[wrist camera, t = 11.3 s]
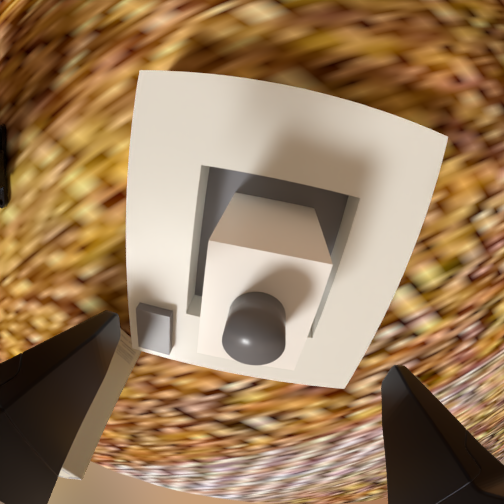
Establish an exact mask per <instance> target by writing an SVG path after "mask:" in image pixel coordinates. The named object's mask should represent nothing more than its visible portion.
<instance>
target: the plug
mask: <svg viewBox="0 0 504 504" xmlns="http://www.w3.org/2000/svg"><path fill="white" fill-rule="evenodd" d="M332 266H333V264H332V260H331V257H330V254H329V251H328V248H327V245H326V242H325V239H324V236H323V232H322V229H321V227H320V224H319V221H318V218H317V215H316V212H315V209H314V208H310V207H306V206H301V205H296V204H292V203H287V202H282V201H277V200H272V199H267V198H262V197H257V196H252V195H246V194H241V193H236V192H235V194H234V195H233V197H232V199H231V201H230V202H229V204H228V206H227V208H226V210H225V211H224V213H223V215H222V217H221V219H220V220H219V222H218V224H217V226H216V228H215V229H214V231H213V233H212V235H211V237H210V239H209V241H208V249H207V258H206V266H205V275H204V285H203V294H202V304H201V314H200V324H199V336H198V347H197V353H201V354H206V355H211V356H215V357H220V358H225V359H230V360H235V361H238V362H240V363H243V364H247V365H263V366H269V367H275V368H281V369H288V370H294V369H295V367H296V364H297V362H298V359H299V357H300V354H301V352H302V349H303V347H304V344H305V342H306V339H307V336H308V334H309V331H310V329H311V326H312V323H313V320H314V318H315V315H316V312H317V309H318V307H319V304H320V301H321V298H322V295H323V292H324V290H325V287H326V284H327V281H328V278H329V275H330V272H331V269H332Z"/></svg>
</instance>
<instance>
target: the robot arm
mask: <svg viewBox="0 0 504 504" xmlns="http://www.w3.org/2000/svg"><path fill="white" fill-rule="evenodd" d="M5 143H6V128H5V125H4V124H0V208H4V207H6V206H7V204H8V197H7V183H6V155H5ZM120 336H121V330H120V321H119V316H118V314H117V313H114V312H111V311H104V312H102V313H100V314H98V315H96V316H94V317H92V318H90V319H88V320H86V321H84V322H82V323H80V324H78V325H76V326H74V327H72V328H70V329H68V330H66V331H64V332H62V333H60V334H58V335H56V336H54V337H52V338H50V339H48V340H46V341H44V342H42V343H40V344H38V345H36V346H34V347H32V348H30V349H28V350H27V351H25V352H23V354H22V353H20V354H19V355H17V356H15V357H13V358H11V359H9V360H6V361H4V362H2V363H0V504H47V503H48V501H49V498H50V496H51V493H52V490H53V488H54V486H55V483H56V481H57V478H58V475H59V473H60V471H61V469H62V466H63V464H64V462H65V459H66V457H67V455H68V453H69V450H70V448H71V446H72V444H73V442H74V439H75V437H76V435H77V433H78V431H79V429H80V427H81V424H82V422H83V420H84V418H85V416H86V414H87V412H88V410H89V408H90V406H91V404H92V402H93V400H94V398H95V396H96V394H97V392H98V390H99V388H100V386H101V384H102V382H103V380H104V378H105V376H106V373H107V371H108V368H109V366H110V363H111V360H112V358H113V355H114V353H115V350H116V348H117V345H118V343H119V340H120ZM381 393H382V428H383V438H384V448H385V459H386V472H387V488H388V504H504V465H503V464H502V463H501V462H500V461H498V460H497V459H496V458H495V457H494V456H493V455H492V454H491V453H490V452H489V451H487V450H486V449H485V448H484V447H483V446H482V445H481V444H480V443H479V442H478V441H477V440H476V439H475V438H474V437H473V436H472V435H471V434H470V433H469V431H468V430H466V428H465V427H464V426H463V425H462V424H461V423H460V422H459V421H458V420H457V419H456V418H455V417H454V416H453V415H452V414H451V413H450V412H449V411H448V409H447V408H446V407H445V406H444V405H443V404H442V403H441V402H440V401H439V400H438V399H437V398H436V397H435V396H434V395H433V394H432V393H431V392H430V391H429V390H428V389H427V388H426V387H425V386H424V385H423V384H422V383H421V382H420V381H419V380H418V379H417V378H416V377H415V376H414V375H413V374H412V373H411V372H410V371H409V370H408V369H407V368H406V367H405V366H402V365H394V366H393V367H392V368H391V369H390V371H389V372H388V374H387V375H386V377H385V378H384V380H383V382H382V386H381Z"/></svg>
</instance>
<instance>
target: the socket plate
mask: <svg viewBox="0 0 504 504" xmlns="http://www.w3.org/2000/svg"><path fill="white" fill-rule="evenodd" d="M447 140H448V137H447V136H445V135H443V134H441V133H438V132H436V131H434V130H431V129H429V128H427V127H424V126H422V125H419V124H417V123H414V122H412V121H409V120H406V119H404V118H401V117H398V116H396V115H393V114H390V113H387V112H384V111H381V110H378V109H375V108H372V107H369V106H366V105H363V104H360V103H356V102H353V101H350V100H346V99H343V98H339V97H335V96H331V95H328V94H324V93H320V92H316V91H311V90H307V89H303V88H298V87H293V86H288V85H283V84H278V83H273V82H267V81H261V80H255V79H249V78H242V77H234V76H226V75H217V74H207V73H196V72H181V71H156V70H140V72H139V78H138V84H137V90H136V97H135V104H134V112H133V120H132V129H131V139H130V150H129V163H128V178H127V201H126V268H127V291H128V307H129V320H130V331H131V341H132V348H133V349H137V350H140V351H143V352H147V353H150V354H154V355H158V356H161V357H165V358H169V359H173V360H177V361H181V362H185V363H189V364H193V365H197V366H202V367H206V368H211V369H215V370H220V371H225V372H230V373H235V374H240V375H245V376H251V377H257V378H263V379H269V380H275V381H282V382H289V383H296V384H304V385H312V386H321V387H331V388H342V389H344V388H345V387H346V385H347V384H348V382H349V380H350V378H351V377H352V375H353V373H354V372H355V370H356V368H357V366H358V365H359V363H360V361H361V359H362V358H363V356H364V354H365V352H366V350H367V348H368V347H369V345H370V343H371V341H372V339H373V337H374V335H375V333H376V331H377V329H378V327H379V325H380V323H381V321H382V319H383V317H384V315H385V313H386V311H387V309H388V307H389V305H390V303H391V301H392V298H393V296H394V294H395V292H396V290H397V287H398V285H399V283H400V281H401V278H402V276H403V274H404V271H405V269H406V266H407V264H408V262H409V259H410V257H411V254H412V252H413V249H414V246H415V244H416V241H417V239H418V236H419V233H420V230H421V228H422V225H423V222H424V219H425V216H426V213H427V210H428V207H429V204H430V201H431V198H432V195H433V192H434V188H435V185H436V182H437V178H438V175H439V171H440V167H441V164H442V160H443V156H444V152H445V148H446V144H447ZM235 192H236V193H241V194H246V195H252V196H257V197H262V198H267V199H272V200H277V201H282V202H287V203H292V204H296V205H301V206H306V207H310V208H314V209H315V212H316V215H317V218H318V221H319V224H320V227H321V229H322V232H323V236H324V239H325V242H326V245H327V248H328V251H329V254H330V257H331V260H332V264H333V266H332V269H331V272H330V275H329V278H328V281H327V284H326V287H325V290H324V292H323V295H322V298H321V301H320V304H319V307H318V309H317V312H316V315H315V318H314V320H313V323H312V326H311V329H310V331H309V334H308V336H307V339H306V342H305V344H304V347H303V349H302V352H301V354H300V357H299V359H298V362H297V364H296V367H295V369H294V370H288V369H281V368H275V367H269V366H263V365H247V364H243V363H240V362H238V361H235V360H230V359H225V358H220V357H215V356H211V355H206V354H201V353H197V347H198V336H199V324H200V314H201V304H202V294H203V285H204V275H205V266H206V258H207V249H208V241H209V239H210V237H211V235H212V233H213V231H214V229H215V228H216V226H217V224H218V222H219V220H220V219H221V217H222V215H223V213H224V211H225V210H226V208H227V206H228V204H229V202H230V201H231V199H232V197H233V195H234V194H235Z"/></svg>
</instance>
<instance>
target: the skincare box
mask: <svg viewBox="0 0 504 504" xmlns="http://www.w3.org/2000/svg"><path fill="white" fill-rule="evenodd" d="M120 330H121V336H120V340H119V343H118V345H117V348H116V350H115V353H114V355H113V358H112V360H111V363H110V366H109V368H108V371H107V373H106V376H105V378H104V380H103V382H102V384H101V386H100V388H99V390H98V392H97V394H96V396H95V398H94V400H93V402H92V404H91V406H90V408H89V410H88V412H87V414H86V416H85V418H84V420H83V422H82V424H81V427H80V429H79V431H78V433H77V435H76V437H75V439H74V442H73V444H72V446H71V448H70V450H69V453H68V455H67V457H66V459H65V462H64V464H63V466H62V469H61V471H60V473H59V475H58V477H64V478H71V479H80V480H82V479H83V477H84V474H85V472H86V470H87V467H88V465H89V463H90V460H91V458H92V455H93V453H94V451H95V448H96V446H97V444H98V442H99V439H100V437H101V435H102V433H103V431H104V428H105V426H106V424H107V422H108V420H109V417H110V415H111V413H112V411H113V409H114V407H115V405H116V402H117V400H118V398H119V396H120V394H121V392H122V390H123V388H124V386H125V383H126V381H127V379H128V377H129V375H130V373H131V371H132V369H133V367H134V365H135V363H136V361H137V359H138V357H139V355H140V353H141V351H140V350H137V349H133V348H132V341H131V337H130V336H129V335H127V334H126V333H125V332H124V331H123V330H122V329H121V328H120Z"/></svg>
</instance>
